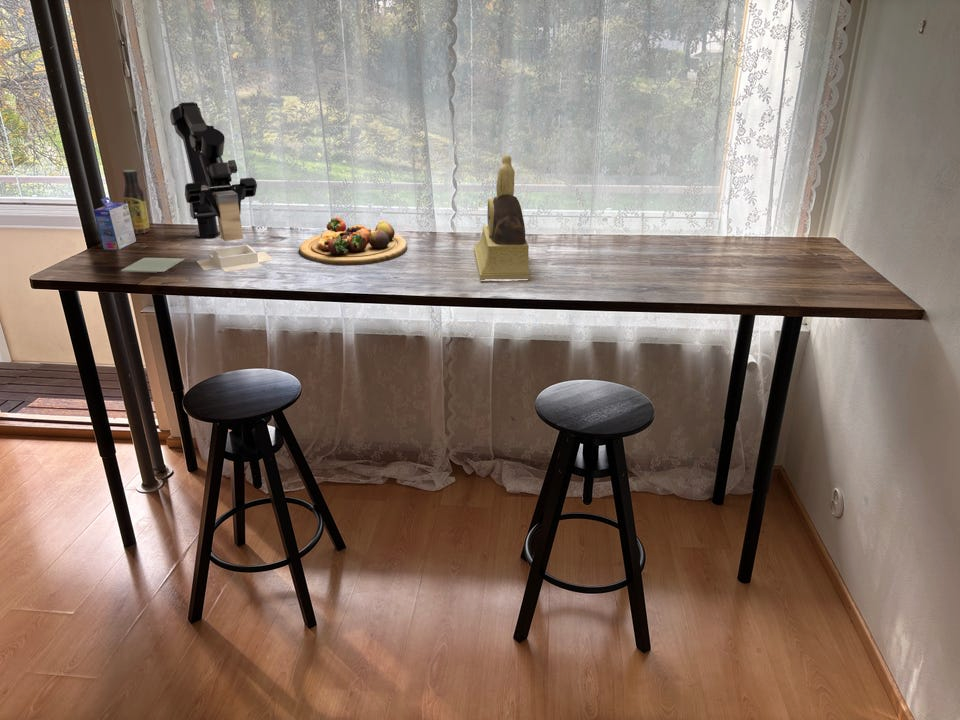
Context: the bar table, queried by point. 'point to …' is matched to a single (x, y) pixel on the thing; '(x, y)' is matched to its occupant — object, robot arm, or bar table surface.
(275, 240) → the bar table surface
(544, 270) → the bar table surface
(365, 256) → the wooden plate with food
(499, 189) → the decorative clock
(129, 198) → the sauce bottle
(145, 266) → the rubber pad
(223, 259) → the carton
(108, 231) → the ink cartridge box
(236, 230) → the box
